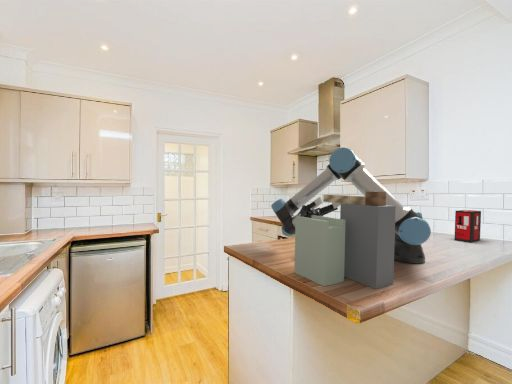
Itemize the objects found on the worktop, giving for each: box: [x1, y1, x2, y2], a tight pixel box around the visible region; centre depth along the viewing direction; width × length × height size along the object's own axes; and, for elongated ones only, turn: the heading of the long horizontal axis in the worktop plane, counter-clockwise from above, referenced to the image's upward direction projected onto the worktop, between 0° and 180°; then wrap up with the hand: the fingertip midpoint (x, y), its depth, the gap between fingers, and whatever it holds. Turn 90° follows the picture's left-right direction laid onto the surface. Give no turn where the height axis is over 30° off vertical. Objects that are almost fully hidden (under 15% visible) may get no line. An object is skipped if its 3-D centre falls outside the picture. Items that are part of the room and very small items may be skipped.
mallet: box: [322, 191, 386, 206], centre depth 101 cm, size 25×5×5 cm, turn 36°
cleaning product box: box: [453, 209, 482, 244], centre depth 173 cm, size 16×9×20 cm, turn 124°
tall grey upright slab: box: [339, 203, 396, 290], centre depth 96 cm, size 16×10×28 cm, turn 31°
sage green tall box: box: [293, 215, 346, 287], centre depth 97 cm, size 16×10×22 cm, turn 31°
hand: (332, 199), depth 109 cm, fingers open, 13 cm apart
